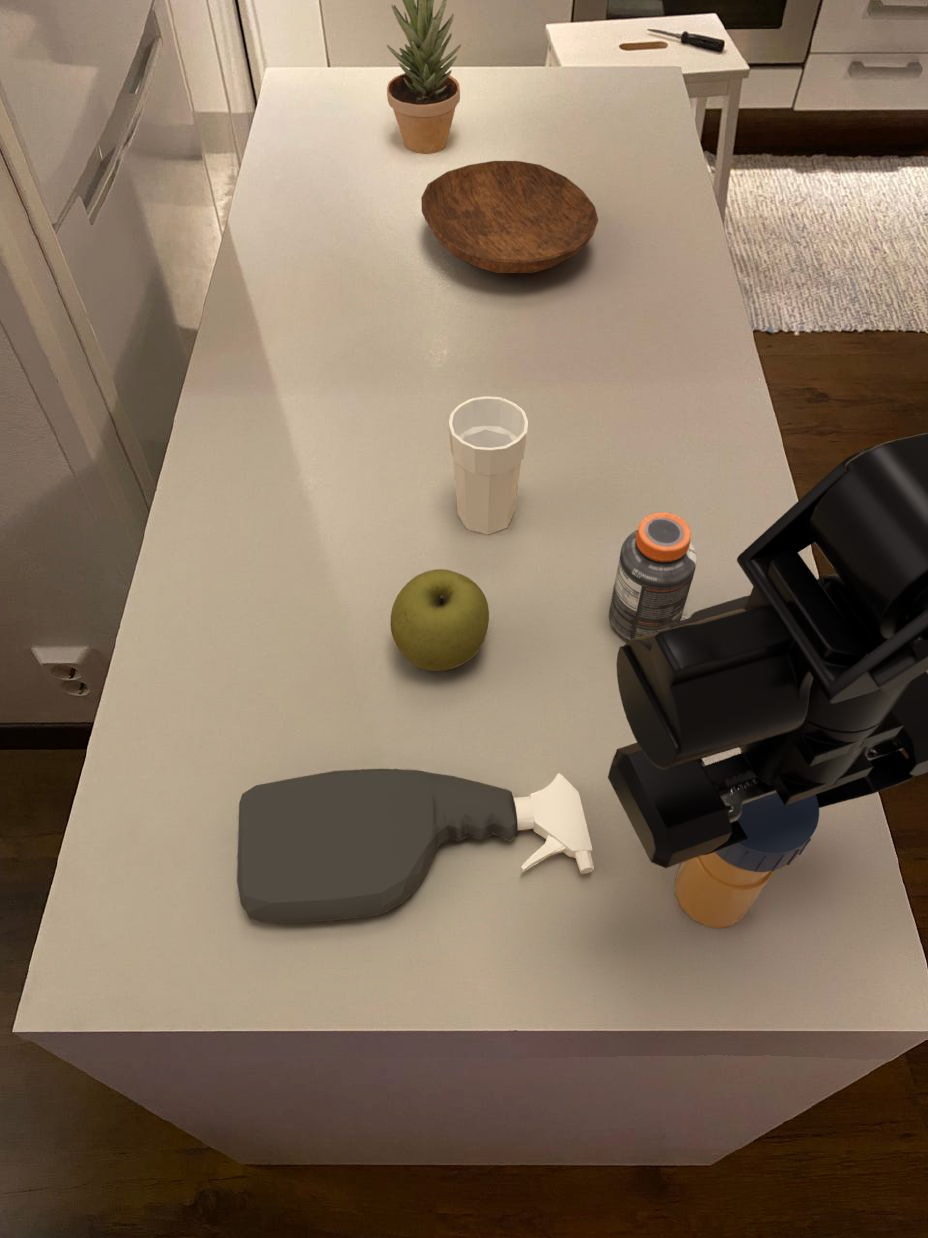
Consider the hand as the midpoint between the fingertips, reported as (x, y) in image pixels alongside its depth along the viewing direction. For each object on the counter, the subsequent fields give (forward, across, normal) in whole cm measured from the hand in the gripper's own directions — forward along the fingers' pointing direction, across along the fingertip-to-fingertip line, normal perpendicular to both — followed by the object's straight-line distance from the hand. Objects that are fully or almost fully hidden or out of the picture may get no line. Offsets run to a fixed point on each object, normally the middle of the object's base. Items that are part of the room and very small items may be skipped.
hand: (750, 822), depth 57 cm
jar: (+11, 0, 0) cm, 11 cm away
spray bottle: (+12, +18, -11) cm, 24 cm away
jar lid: (0, 0, 0) cm, 0 cm away
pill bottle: (+12, -6, -23) cm, 26 cm away
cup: (+12, +2, -39) cm, 41 cm away
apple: (+12, +11, -26) cm, 30 cm away
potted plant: (+12, -15, -106) cm, 108 cm away
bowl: (+12, -16, -79) cm, 81 cm away
